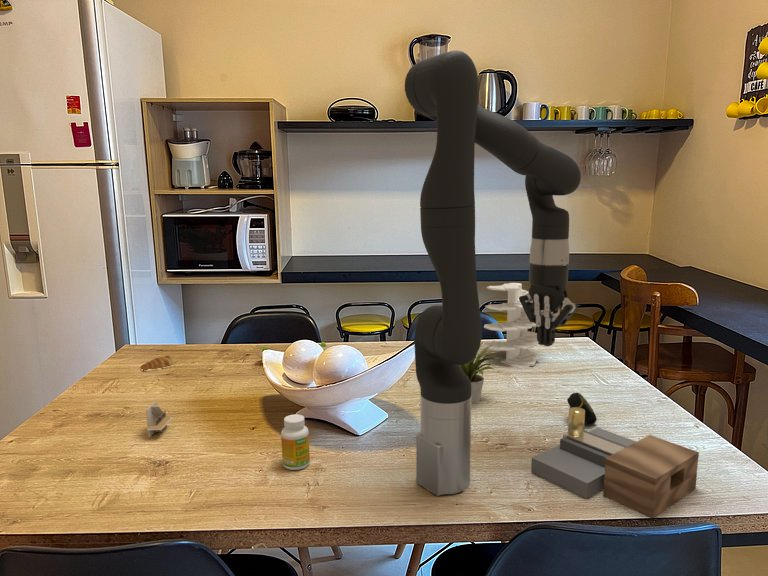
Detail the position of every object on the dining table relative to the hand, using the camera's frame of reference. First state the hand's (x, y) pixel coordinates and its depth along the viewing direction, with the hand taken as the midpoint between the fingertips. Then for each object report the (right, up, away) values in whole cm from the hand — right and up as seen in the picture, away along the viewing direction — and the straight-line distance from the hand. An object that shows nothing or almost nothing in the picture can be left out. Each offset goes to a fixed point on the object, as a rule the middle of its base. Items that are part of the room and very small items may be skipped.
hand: (545, 344), depth 115 cm
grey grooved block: (+7, -23, -6) cm, 25 cm away
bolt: (+7, -20, -6) cm, 22 cm away
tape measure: (+13, -20, +16) cm, 28 cm away
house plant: (-12, -18, +27) cm, 35 cm away
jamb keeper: (+14, -25, -15) cm, 32 cm away
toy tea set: (-59, -14, +56) cm, 82 cm away
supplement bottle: (-51, -24, -3) cm, 56 cm away
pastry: (-105, -15, +56) cm, 120 cm away
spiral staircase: (+7, -12, +59) cm, 61 cm away
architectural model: (-84, -22, +11) cm, 88 cm away
